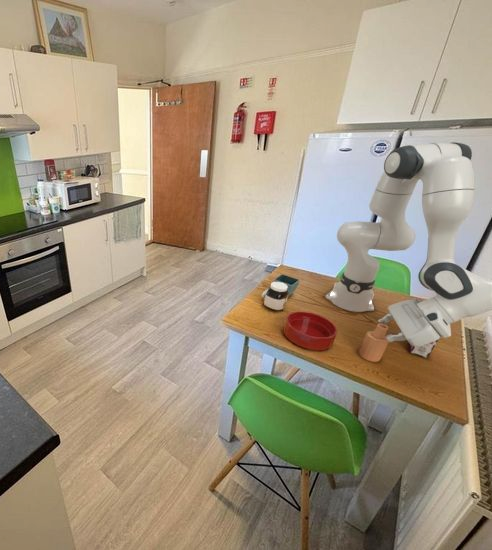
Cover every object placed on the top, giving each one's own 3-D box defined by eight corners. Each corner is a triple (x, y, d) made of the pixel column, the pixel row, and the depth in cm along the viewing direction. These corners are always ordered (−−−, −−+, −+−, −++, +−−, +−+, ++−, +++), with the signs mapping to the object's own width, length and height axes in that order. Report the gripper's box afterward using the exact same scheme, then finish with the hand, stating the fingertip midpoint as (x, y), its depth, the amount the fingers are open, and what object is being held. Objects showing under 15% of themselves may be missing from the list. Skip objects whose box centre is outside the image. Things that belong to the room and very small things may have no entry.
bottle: (359, 347, 112) (372, 318, 106) (380, 354, 109) (394, 325, 102) (358, 356, 108) (371, 327, 102) (379, 364, 104) (394, 334, 98)
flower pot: (278, 289, 152) (281, 273, 148) (296, 295, 146) (300, 279, 142) (270, 295, 147) (273, 279, 143) (288, 302, 141) (292, 285, 137)
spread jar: (276, 314, 132) (281, 292, 127) (253, 303, 140) (257, 282, 135) (289, 305, 138) (295, 283, 133) (267, 295, 147) (272, 274, 141)
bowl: (289, 319, 129) (292, 306, 126) (335, 334, 119) (340, 321, 116) (277, 339, 117) (281, 326, 114) (328, 358, 108) (333, 344, 105)
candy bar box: (428, 359, 106) (450, 322, 98) (410, 353, 109) (430, 316, 101) (426, 342, 113) (447, 307, 106) (409, 337, 116) (428, 302, 109)
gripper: (413, 290, 103) (369, 308, 111) (440, 324, 86) (386, 342, 94) (424, 304, 103) (379, 320, 111) (453, 339, 87) (398, 356, 95)
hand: (383, 330), depth 103 cm, fingers open, 8 cm apart
